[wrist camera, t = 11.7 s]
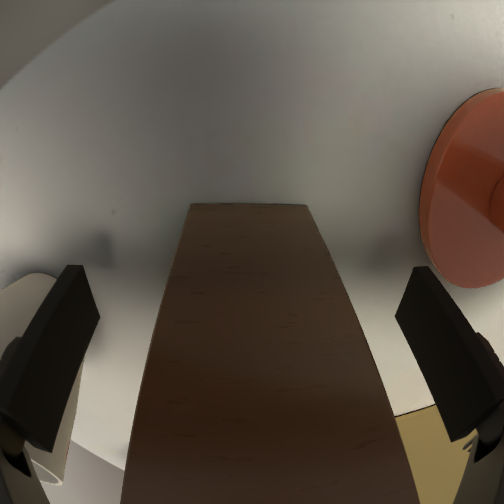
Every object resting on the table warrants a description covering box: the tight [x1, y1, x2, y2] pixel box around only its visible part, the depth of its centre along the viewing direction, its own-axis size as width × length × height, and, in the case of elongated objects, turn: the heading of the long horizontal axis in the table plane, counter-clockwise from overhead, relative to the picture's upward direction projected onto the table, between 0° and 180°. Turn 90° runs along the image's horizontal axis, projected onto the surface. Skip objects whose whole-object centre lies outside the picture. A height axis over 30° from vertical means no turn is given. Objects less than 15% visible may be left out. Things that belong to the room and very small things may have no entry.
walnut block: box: [120, 204, 420, 504], centre depth 9 cm, size 5×5×12 cm
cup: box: [0, 273, 84, 485], centre depth 12 cm, size 8×8×10 cm
